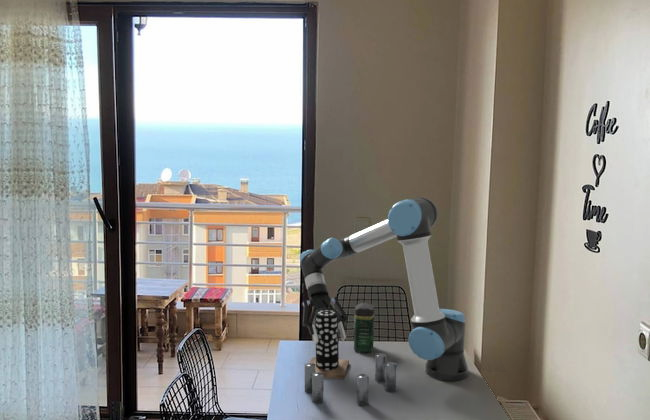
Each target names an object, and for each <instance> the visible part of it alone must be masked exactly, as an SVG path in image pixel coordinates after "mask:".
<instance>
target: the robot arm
mask: <svg viewBox="0 0 650 420" xmlns="http://www.w3.org/2000/svg"><path fill="white" fill-rule="evenodd" d="M438 219H439V209H438V207H437V205H436V203H435V201H433V200H431V199H430V198H427V197H416V198H409V199H404V200H400V201H398V202H396V203H394V204H393V205H392V207H391V208H390V209H389V212H388V214H387V219H383V220H382V221H380V222H378V223H375V224H373V225H371V226H369V227H367V228H364V229H362V230H360V231H357V232H355V233H353V234H351V235H348V236H346V237H344V238H340V239H337V238H334V237H329V238H328V239H326V240H324V241H323V242H322V243H321V244H320V245H319V246H318V247H316V248H315V249H307V250H306V251H302V253H300V255H299V261H300V262H299V264H300V267H301V268H300V269H301V270H302V274H303V278H304V279H303V280H304V282H305V283H304V284H305V287H306V290H307V295H308V300H307V299H303V301H302V303H301V306H302V308H303V311H302V312H303V313H302V327H306V328H307V329H308V333H309V335H310V336H312V339H313V343H314V345H316V344H317V343H318V337H317V333H316V329H315V324H313V322H314V321H315V312H316V311H318V310H322V309H332V310H336V311H337V312H338V332H339V334H340V338H341V341H342V342H345V341H346V339H347V335H346V330H347V327H346V323H347V321H348V319H349V317H348V315H347V313H346V312H345V310H344V309H343V307H342V305H341V303H340V301H339V298H338V296H335V297H330V295H329V291H328V287H327V284H326V281H325V280H326V279H325V276H324V273H323V269H324V268H326V267H327V266H328V265H329V264H331V263H332V262H335V261H338V260H342V259H345V258H349V257H353V256H355V255H357V254H358V253H361V252H363V251H365V250H369V249H370V248H372V247H375V246H377V245H380V244H383V243H386V242H388V241H390V240H392V239H395V238H396V242H398V243H399V244H400V245H402V250H403V256H404V260H405V267H406V273H407V280H408V285H409V289H410V297H411V302H412V308H413V315H412V317H411V318H410V323H411V331H410V333H409V335H408V345H409V348H410V349H411V351H412V353H413V354H414V355H416V356H417V357H418V358H419V359H422V360H425V361H426V362H425V368H424V369H425V370H424V371H425V374H426V375H428V376H430V377H431V378H433V379H436V380H439V381H440V380H441V381H446V382H456V381H461V380H464V379H466V378H467V377H468V376H469V366H468V364H467V360H466V357H465V353H464V352H465V336H466V335H465V333H466V331H465V330H466V329H465V328H466V315H465V314H464V313H463V312H461V311H458V310H454V309H448V308H440V306H439V299H438V294H437V288H436V282H435V275H434V271H433V264H432V260H431V253H430V247H429V242H428V241H429V239H430V238H431V237H432V233H431V228H432V227H434V225H436V223H437V221H438ZM331 303H332V304H331ZM309 305H310V306H311V307H313V309H312V311H311V314H310V317H309V320H308V313H309ZM333 305H334V307H333Z"/></svg>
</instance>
